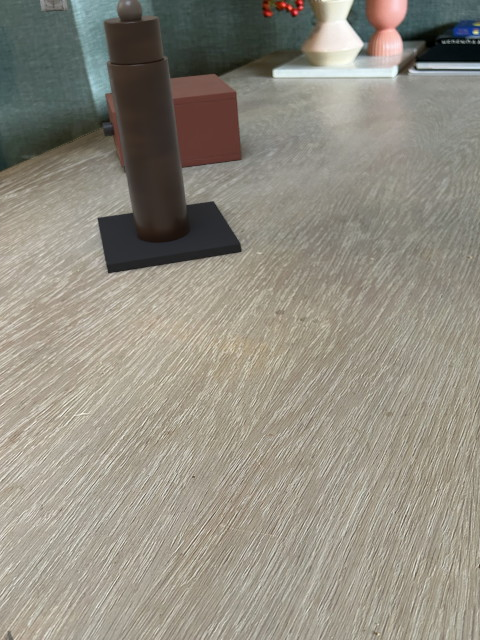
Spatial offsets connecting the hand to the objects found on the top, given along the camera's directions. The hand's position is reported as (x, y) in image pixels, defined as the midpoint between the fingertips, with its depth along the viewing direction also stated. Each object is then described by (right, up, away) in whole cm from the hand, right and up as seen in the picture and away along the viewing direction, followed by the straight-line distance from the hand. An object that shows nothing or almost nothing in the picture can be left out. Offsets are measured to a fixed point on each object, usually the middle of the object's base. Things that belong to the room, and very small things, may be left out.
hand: (55, 10), depth 76 cm
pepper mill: (+14, -28, -13) cm, 34 cm away
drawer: (+10, -12, +11) cm, 19 cm away
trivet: (+15, -28, -12) cm, 34 cm away
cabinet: (+12, -12, +12) cm, 21 cm away
